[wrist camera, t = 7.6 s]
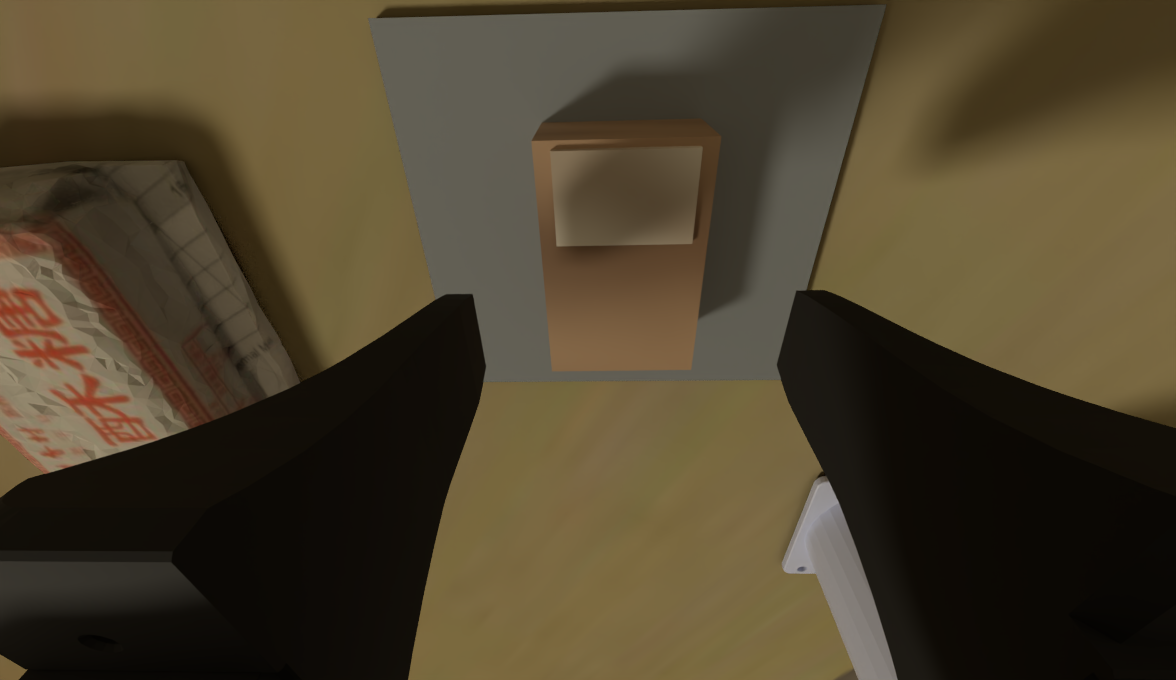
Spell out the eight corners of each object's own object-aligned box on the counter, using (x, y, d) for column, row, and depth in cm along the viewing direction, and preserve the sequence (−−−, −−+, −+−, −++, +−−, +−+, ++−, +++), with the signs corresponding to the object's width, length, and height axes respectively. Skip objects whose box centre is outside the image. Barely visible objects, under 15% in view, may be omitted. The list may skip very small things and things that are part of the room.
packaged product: (-359, 214, 11) (46, 198, 10) (-101, 164, 15) (197, 150, 14) (117, 599, 21) (330, 597, 21) (194, 507, 25) (373, 504, 25)
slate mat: (878, 5, 12) (886, 4, 11) (777, 373, 18) (781, 379, 18) (374, 18, 12) (368, 18, 12) (457, 375, 19) (455, 382, 18)
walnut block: (679, 327, 17) (692, 373, 15) (557, 329, 17) (551, 375, 15) (701, 118, 13) (723, 137, 11) (541, 122, 13) (530, 142, 11)
